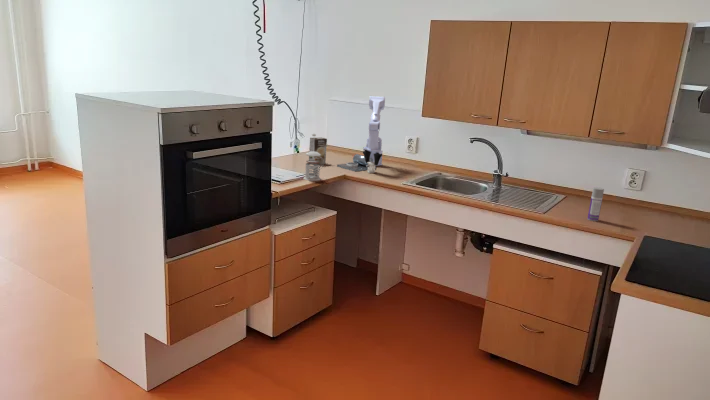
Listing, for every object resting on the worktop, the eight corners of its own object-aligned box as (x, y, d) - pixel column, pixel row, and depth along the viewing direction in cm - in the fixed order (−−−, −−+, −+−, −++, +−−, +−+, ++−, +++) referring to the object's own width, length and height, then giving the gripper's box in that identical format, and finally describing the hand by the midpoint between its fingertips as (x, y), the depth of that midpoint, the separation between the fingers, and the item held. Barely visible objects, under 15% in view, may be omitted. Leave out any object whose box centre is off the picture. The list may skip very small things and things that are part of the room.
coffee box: (314, 164, 328) (315, 139, 324) (308, 162, 332) (309, 137, 328) (325, 163, 333) (327, 138, 329) (320, 161, 338) (321, 137, 334)
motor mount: (357, 164, 339) (358, 153, 337) (376, 168, 327) (377, 157, 325) (336, 166, 327) (337, 155, 325) (355, 171, 315) (356, 159, 313)
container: (589, 217, 246) (594, 186, 242) (599, 219, 243) (605, 188, 239) (586, 219, 242) (591, 188, 238) (596, 221, 239) (602, 190, 235)
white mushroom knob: (371, 170, 320) (371, 161, 319) (377, 172, 316) (378, 162, 315) (362, 171, 315) (363, 162, 314) (369, 173, 311) (369, 163, 310)
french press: (299, 177, 290) (301, 132, 283) (317, 175, 297) (319, 132, 290) (309, 181, 282) (311, 135, 276) (327, 179, 289) (329, 134, 283)
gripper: (360, 140, 314) (358, 162, 317) (377, 143, 304) (375, 166, 307) (368, 139, 319) (367, 161, 322) (385, 143, 309) (383, 165, 312)
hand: (371, 164), depth 315 cm, fingers open, 7 cm apart
